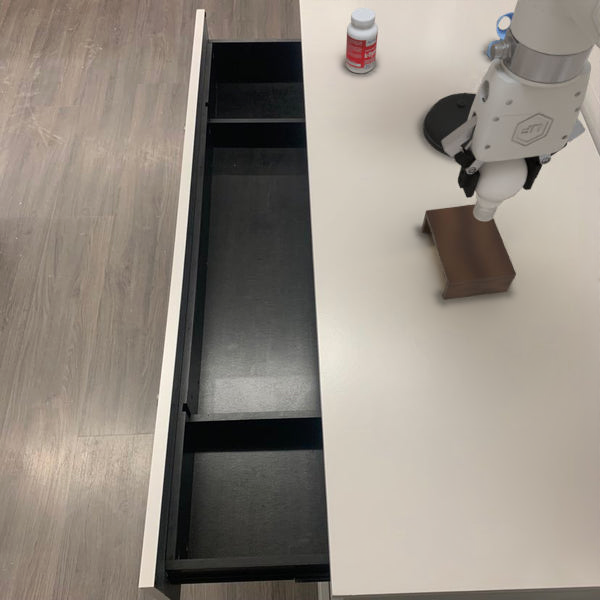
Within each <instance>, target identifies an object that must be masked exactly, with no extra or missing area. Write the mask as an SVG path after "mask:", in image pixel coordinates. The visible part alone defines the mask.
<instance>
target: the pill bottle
mask: <svg viewBox="0 0 600 600" xmlns="http://www.w3.org/2000/svg"><path fill="white" fill-rule="evenodd" d="M378 33H379V27H378V25H377V23H376V12H375V11H374V10H373V9H371V8H368V7H358V8H356V9H354V10H352V11H351V15H350V23H349V24H348V25H347V27H346V45H345V67H346V68H347V70H349V71H350V72H352V73H354V74H366V73H368V72H370V71H373V69H374V67H375V65H376V56H377V46H378V45H377V44H378V36H379V35H378Z"/></svg>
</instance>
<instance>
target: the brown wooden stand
mask: <svg viewBox="0 0 600 600" xmlns="http://www.w3.org/2000/svg"><path fill="white" fill-rule="evenodd" d="M475 204H476V203H474V204H466V205H465V204H464V205H458V206H450V207H442V208H433V209H427V210H425V213H424V217H423V222H422V224H421V225H422V226H421V232H422V234H423V233H424V234H425V233H431V236H432V240H433V242H434V246H435V248H436V252H437V254H438V257H439V261H440V264H441V267H442V270H443V273H444V276H445V279H446V283H445V287H444V289H443V292H442V295H441V297H442V300H445V301H446V300H453V299H461V298H467V297H475V296H482V295H491V294H498V293H505V292H508V290H509V289H510V287H511V285H512V283H513V281H514V280H515V277H516V276H517V272H516V270H515V267H514V265H513V262H512V259H511V258H510V256H509V253H508V250H507V248H506V244H504V241H503V238H502V236H501V233H500V231H499V228H498V226H497V224H496V221H495V219H494V217H493V218H492V219H491V220H490V221H480V220H478V219H476V218H475V217H474V215H473V210H474V207H475Z"/></svg>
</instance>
